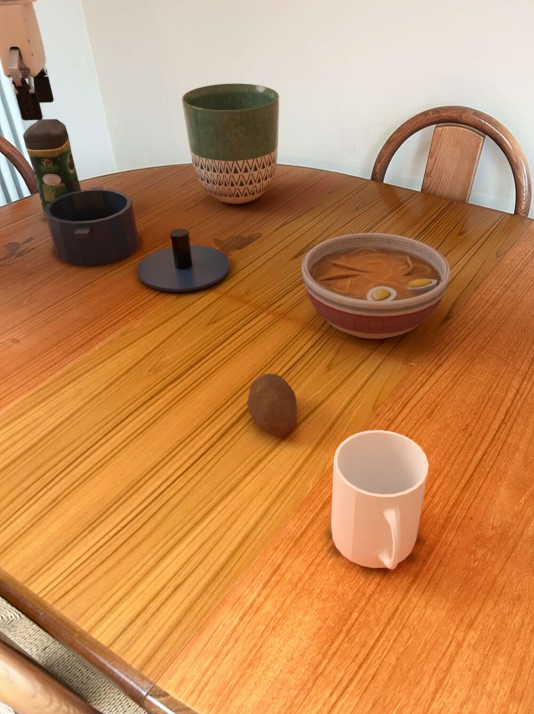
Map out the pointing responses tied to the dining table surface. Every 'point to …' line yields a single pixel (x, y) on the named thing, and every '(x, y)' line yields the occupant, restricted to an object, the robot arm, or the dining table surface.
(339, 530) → the mug
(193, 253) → the lid
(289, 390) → the potato
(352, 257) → the bowl
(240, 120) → the planter
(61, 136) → the coffee jar
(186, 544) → the dining table surface
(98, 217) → the pot
